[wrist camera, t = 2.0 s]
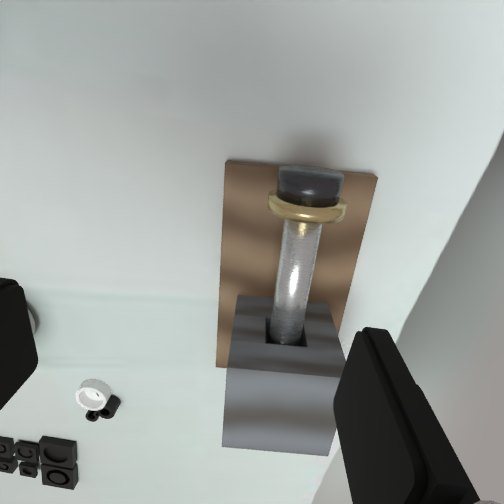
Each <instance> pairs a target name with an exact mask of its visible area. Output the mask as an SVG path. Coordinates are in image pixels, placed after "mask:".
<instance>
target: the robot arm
mask: <svg viewBox="0 0 504 504" xmlns="http://www.w3.org/2000/svg"><path fill="white" fill-rule="evenodd" d="M37 364H38V355H37V351H36V346H35V341H34V337H33V332H32V327H31V323H30V318H29V313H28V308H27V304H26V299H25V294H24V290H23V288H22V287H21V286H19V284H18V282H17V281H16V280H13V279H6V278H0V410H1V409H2V408H3V407H4V405H5V404H6V403H7V402H8V401H9V400H10V399H11V397H12V396H13V395H14V394H15V393H16V392H17V390H18V389H19V388H20V387H21V386H22V385H23V384H24V382H25V381H26V380H27V379H28V378H29V377H30V376H31V374H32V373H33V372H34V371H35V369H36V367H37ZM333 411H334V416H335V421H336V426H337V430H338V435H339V440H340V445H341V449H342V454H343V459H344V463H345V469H346V473H347V478H348V483H349V488H350V492H351V497H352V502H353V504H499V503H496V502H494V501H481V500H480V498H479V497H478V495H477V493H476V491H475V489H474V487H473V485H472V483H471V482H470V480H469V478H468V476H467V474H466V472H465V470H464V469H463V467H462V465H461V463H460V461H459V459H458V457H457V455H456V453H455V452H454V450H453V448H452V446H451V444H450V442H449V440H448V438H447V437H446V435H445V433H444V431H443V429H442V427H441V425H440V423H439V422H438V420H437V418H436V416H435V414H434V412H433V410H432V409H431V406H430V405H429V403H428V401H427V399H426V397H425V395H424V393H423V391H422V390H421V388H420V387H419V386H418V385H417V384H416V383H415V381H414V379H413V378H412V376H411V374H410V372H409V370H408V368H407V366H406V364H405V362H404V360H403V358H402V356H401V355H400V353H399V351H398V349H397V347H396V345H395V343H394V341H393V339H392V337H391V335H390V333H389V332H388V331H387V330H385V329H378V328H370V327H365V328H364V329H363V330H362V332H361V331H358V332H357V333H356V334H355V337H354V340H353V343H352V346H351V349H350V352H349V355H348V358H347V361H346V364H345V367H344V370H343V372H342V375H341V378H340V381H339V384H338V387H337V390H336V393H335V396H334V400H333Z"/></svg>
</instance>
